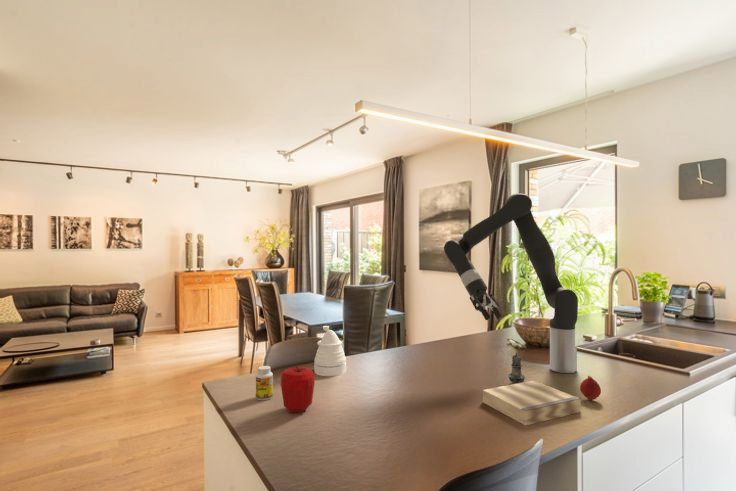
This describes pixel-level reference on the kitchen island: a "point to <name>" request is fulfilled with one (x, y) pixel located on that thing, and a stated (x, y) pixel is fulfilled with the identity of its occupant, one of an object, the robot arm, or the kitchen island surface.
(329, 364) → the honey pot
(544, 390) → the platform
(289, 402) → the apple
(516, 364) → the dark grey chess piece
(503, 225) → the robot arm
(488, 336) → the kitchen island surface
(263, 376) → the supplement bottle
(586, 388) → the onion
